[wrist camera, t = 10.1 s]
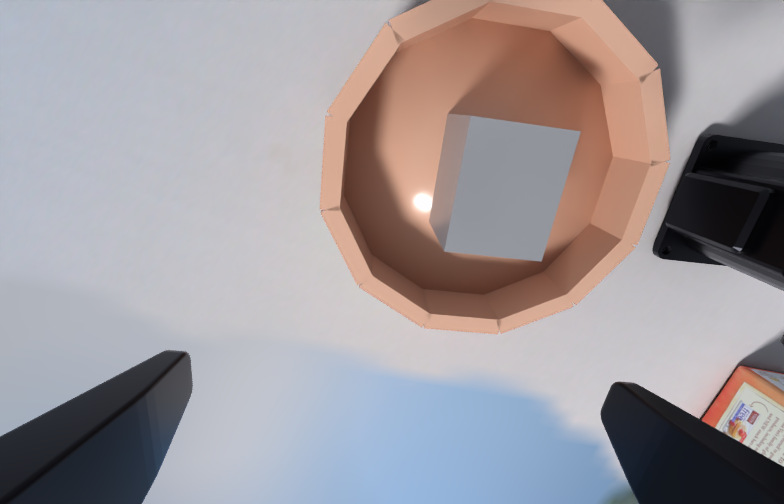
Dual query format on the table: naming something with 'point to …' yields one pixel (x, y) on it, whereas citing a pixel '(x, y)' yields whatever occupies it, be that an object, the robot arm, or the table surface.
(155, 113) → the table surface
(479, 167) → the grey rectangular prism
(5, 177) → the table surface
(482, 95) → the bowl
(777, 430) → the cracker box
